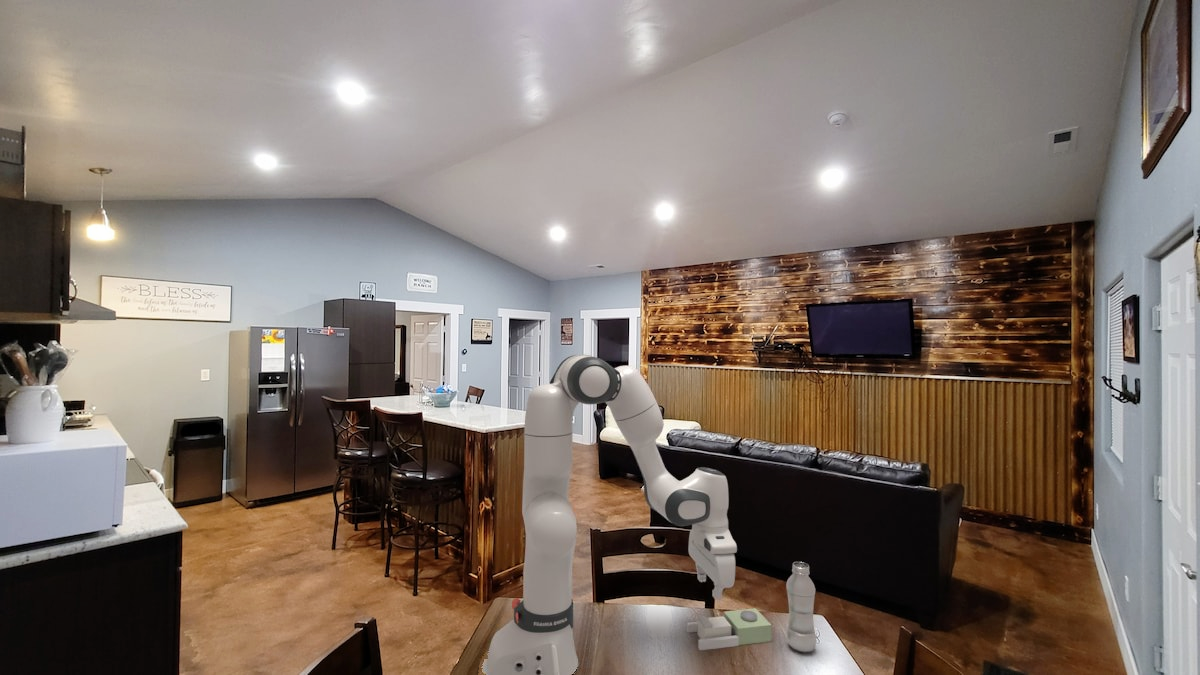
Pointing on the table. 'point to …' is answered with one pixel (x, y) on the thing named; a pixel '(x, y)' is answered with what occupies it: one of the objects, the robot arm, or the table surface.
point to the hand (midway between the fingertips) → (709, 589)
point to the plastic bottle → (801, 609)
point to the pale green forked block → (738, 630)
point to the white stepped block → (713, 627)
